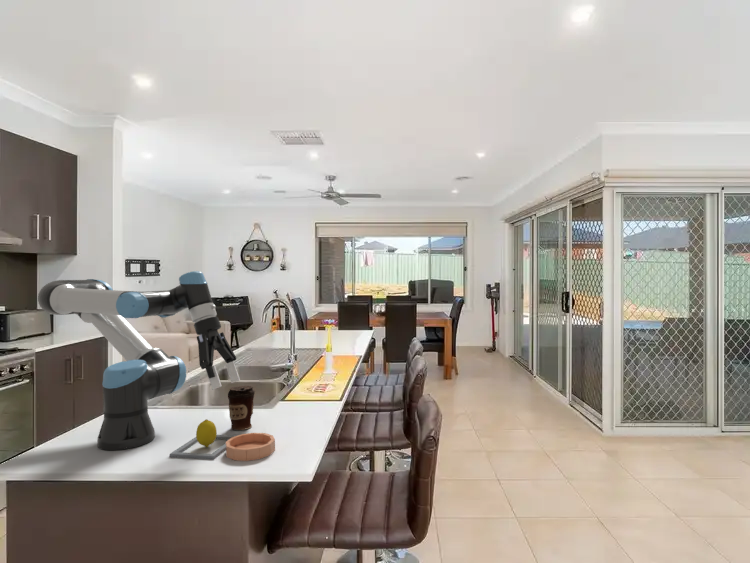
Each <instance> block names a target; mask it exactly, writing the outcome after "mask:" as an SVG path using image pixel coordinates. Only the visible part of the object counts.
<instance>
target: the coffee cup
mask: <svg viewBox="0 0 750 563" xmlns="http://www.w3.org/2000/svg"><path fill="white" fill-rule="evenodd" d="M255 392H256V391H255V389H254V387H253V386H251V385H239V386H233V387H230V388H229V390H228V392H227V398H228V412H229V418H230V422H231V425H230V427H231V430H235V431H240V430H241V431H242V430H248V429H251V428H252V427H253V425H252V423H251V419H252V416H253V414H254V397H255Z"/></svg>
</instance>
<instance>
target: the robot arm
mask: <svg viewBox="0 0 750 563" xmlns="http://www.w3.org/2000/svg"><path fill="white" fill-rule="evenodd" d="M178 282H179V285H178V286H176V287H174V288H170V289H168V290H151V291H149V290H148V291H134V290H131V291H130V290H116V289H115V290H114V289H113V287H112V286H111V285H110V283H107V282H106V281H104V280H102V279H101V280H100V279H93V278H90V279H89V278H88V279H59V280H53V281H50V282H47V283H45V285H43V286H42V287H41V288H40V290H39V291H38V295H37V302H38V305H39V306H40V308H41V309H42V310H43V311H44V312H45V313H48V314H50V315H59V316H62V315H63V316H65V315H77V316H78V317H79V319H80V320H81V321H83V322H84V323H86V324H87V323H88V324H92V326H94V328H96V329H97V331H99V333H100V334H101V335H102V336H103V337H104V338H105V339H106V340H107V341H108V342H109V343H110V345H112V347H113V348H114V349H115V350H116V351H117V352H118V353H119V354H120V355H121V356H122V357H123V359H124V360H125V361H124V360H123V361H120V362H119V361H118V362H115V363H113V364H111V365H108V366H107V367H106V368H105V369H104V371H103V375H102V383H101V384H102V391H103V392H102V393H103V395H102V396H103V420H102V423H101V426H100V429H99V432H98V433H99V434H98V435H97V439H96V440H97V442H96V443H97V448H99V449H100V450H102V451H103V450H105V451H120V450H121V451H122V450H128V449H133V448H137V447H141V446H143V445H146V444H148V443H150V442H152V441H153V440H154V439H155V435H156V434H155V433H156V432H155V428H154V426H153V422H152V421H151V417H150V415H149V407H148V405H149V403H148V401H150V400H152V399H156V398H159V397H162V396H165V395H170V394H172V393H174V392H176V391H179V390H180V389H181V388H182V387H183V386H184V384H185V383H186V379H187V366H186V364H185V362H184V361H183V359H181V358H180V357H178V356H177V355H171V356H169V355H168V354H167V353H166V352H165V351H164V350H163V349H162V348H158V347H155V348H154V347H153V346H152V345H151V344H150V343H149V342H148V340H146V339H145V337H144V336H142V334H141V333H140V332H139V331H138V330H137V329H136V328H135V327H134V326H133V325H132V323H131V322H129V321H128V320H127V319H138V318H144V317H153V316H154V317H155V316H157V317H159V318H170V317H173V316H175V315H176V314H178V313H180V312H182V311H184V310H186V309H188V312H189V315H190V318H191V321H192V323H194V324H193V327H194V330H195V333H196V335H197V336H196V341H197V345H198V347H197V348H198V363H199V367H200V368H201V370H205V371H206V374H207V378H208V381H209V383H210V384H209V385H210V387H211V390H216V389H219V388H221V387H222V383H221V380H220V377H219V374H218V370H217V367H216V365H215V364H214V354H215V351H217V353H218V354H219V355H220V356H221V358H222V359H223V360H224V361H225V364H224V365H225V367H226V371H227V374H228V376H229V379H230V382H231V384H234V383H236V382H237V383H238V382H239V381H241V379H240V375H239V373H238V370H237V367H236V363H235V361H237V357H236V354H235V353H234V350H233V349H232V347H231V346H230V344H229V342H228V340H227V339H226V337H225V333H224V332H223V331H222V332H220V333H219V332H218V330H219V329H221V328H222V325H221V321H220V319H219V317H218V316H217V315H218V314H217V311H216V307H217V306H216V305H215V304H214V302H213V300H212V299H213V298H212V296H211V292H210V288H209V285H208V282H207V280H206V278H205V275H204V273H203V272H202V271H199V270H194V271H190V272H186V273H183V274H182V275H180V276H179V278H178Z"/></svg>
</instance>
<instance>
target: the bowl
mask: <svg viewBox="0 0 750 563" xmlns="http://www.w3.org/2000/svg"><path fill="white" fill-rule="evenodd" d="M234 436H235V437H232V438H230V439H229V440H227V441H226V440H225V443H226V450H225V455H226V458H228V459H231V460H233V461H240V462H241V461H242V462H248V461H255V460H260V459H264V458H266V457H268V456H271V455H272V454H273V453H274V452H275V451H276V439H275V437H274V435H272V434H269V433H266V432H250V433H241V434H238V435H234Z"/></svg>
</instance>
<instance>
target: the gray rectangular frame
mask: <svg viewBox="0 0 750 563" xmlns="http://www.w3.org/2000/svg"><path fill="white" fill-rule="evenodd" d="M235 436H236V435H232V434H229V435H228V434H217V435H216V439H215V440H222V441H223V440H225V441H226V440H227V441H228V440H229V439H230V438H232V437H235ZM196 443H199V442H198V441H197V438H196V436H195V437H194V438H192V439H190V440H188V441H187V442H185V443H184V444H183V445H181V446H180V447H178V448H176V449H175V450H173V451H172V452H170V453H169V458H181V457H183V459H185V458H186V459H202V460H204V459H205V460H215V459H216V458H218V457H219V456H220V455H222V453H224V452H226V442H225V443H223V445H221V446H220V447H219V448H218V449H216V450H214V451H213V452H211V453H201V452H185V451H186V450H187V449H189V448H190V447H191V446H193V445H195V444H196Z"/></svg>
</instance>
